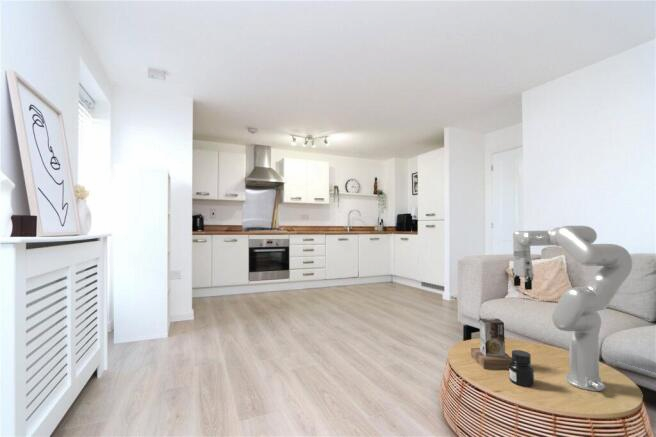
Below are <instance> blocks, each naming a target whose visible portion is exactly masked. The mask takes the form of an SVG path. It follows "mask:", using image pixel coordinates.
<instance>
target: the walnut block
mask: <svg viewBox="0 0 656 437" xmlns="http://www.w3.org/2000/svg"><path fill="white" fill-rule="evenodd" d="M470 349H471V350H470V353H471V354H470V355H471V358H472V359H474V361H476V362H477V363H478V365H480V366H481V367H482V368H483V369H485V370H486V369H487V370H491V369H492V370H509V364H510V363H511V362H512V356H510V355H509V354H508V353H507V352H505V356H485V355H484V354H483V353H482V352H481V350H480V347H477V348H476V347H471V348H470Z"/></svg>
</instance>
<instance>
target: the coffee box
mask: <svg viewBox="0 0 656 437" xmlns="http://www.w3.org/2000/svg"><path fill="white" fill-rule="evenodd" d="M479 342H480V347H479V348H480V350H481V352H482V353H483V354H484V355H485V356H505V353H506V344H505V342H506V340H505V322H504V321H503V320H501V319H500V318H479Z"/></svg>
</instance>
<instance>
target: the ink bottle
mask: <svg viewBox="0 0 656 437" xmlns="http://www.w3.org/2000/svg"><path fill="white" fill-rule="evenodd" d="M511 357H512V362H511V363H510V364H509V369H508V370H509V380H510V382H512V384H515V385H517V386H521V387H527V388H528V387H533V386H534V385H535V369H534V367H533V365H531V364H532V363H531V362H532V360H531V359H532V358H531V353H529V352H528V351H526V350H525V351H524V350H520V349H514V350H511Z"/></svg>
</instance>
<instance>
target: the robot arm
mask: <svg viewBox="0 0 656 437" xmlns="http://www.w3.org/2000/svg"><path fill="white" fill-rule="evenodd" d="M597 236H598V234H597V232H596V231H595V229H594V228H592V227H590V226H586V225H563V226H561V227H555V228H554V227H553V229H552V230H551V229H550V230H548V229H547V230H515V231H513V234H512V238H513V239H512V240H513V247H512V248H513V264H512V265H513V268H512V269H511V270H512V275H513V277H512V278H513V286H514V287H521V283H522V282H521V278H524V290H525V291H528V290H530V291H532V290H533V286H532V285H533V280H534V276H535V274H534V268H533V261H532V258H531V247H535V246H536V247H537V246H538V247H539V246H540V247H541V246H543V247H544V246H547V247H549V246H556V247H561V248H562V249H563V250H564V251H565V252H566V253H567V254H569V255H570V256H571V257H572V258H573V259H574V260H575V261H576V262H577V263H579V264H580V265H583V266H586V267H601V268H600V269H599V270H597V271H596V272H595V273H594V274H593V275H592V277H591V279H590V280H589V282H588V283H587V284H586V285H584V286H575V287H569V288H568V289H566V290H565V291H564V292H563V293H562V295H561V296H560V299H559V300H558V302H557V303H556V305H555V307H554V309H553V311H552V315H551V320H552V321H551V322H552V323H553V325H554V326H555V327H556V328H557V329H558V330H560V331H563V332H570V333H569V337H568V348H569V349H568V352H569V354H568V355H569V373H568V374H565V377H564V378H565V381H566V382H567V383H568V384H570V385H572V386H574V387H576V388H580V389H583V390H586V391H593V392H601V391H603V390H605V389H606V385H605V384H604V383H603V381H602V378H601V377H600V352H599V342H600V341H599V340H600V339H599V337H600V331H601V327H602V317H601V315H600V314H599V313H598V312H600V311H603V310H605V309H606V308H607V307H608V306H609V305H610V303H611V302H612V300H613V299H614V298H615V295H616V294H617V293H618V291H619V289H620V288H621V286H622V285H623V283H625V281H626V280H627V279H628V277H629V275H630V273H631V272H632V269H633V259H632V257H631V254H630V253H629V251H628V250H627V249H626V248H625V247H623V246H621V245H618V244H615V243H614V244H613V243H594V242H595V241H596V240H597Z"/></svg>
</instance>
